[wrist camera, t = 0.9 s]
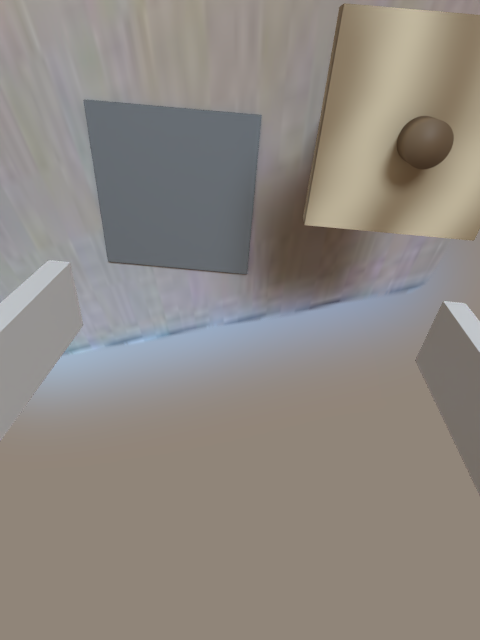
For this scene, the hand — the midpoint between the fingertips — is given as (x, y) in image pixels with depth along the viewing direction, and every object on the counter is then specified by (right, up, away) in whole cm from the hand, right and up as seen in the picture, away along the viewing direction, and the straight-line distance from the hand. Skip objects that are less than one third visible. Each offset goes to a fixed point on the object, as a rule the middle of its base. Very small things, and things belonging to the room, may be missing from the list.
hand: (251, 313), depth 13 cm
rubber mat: (-7, +12, +24) cm, 28 cm away
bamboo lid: (+10, +11, +8) cm, 17 cm away
